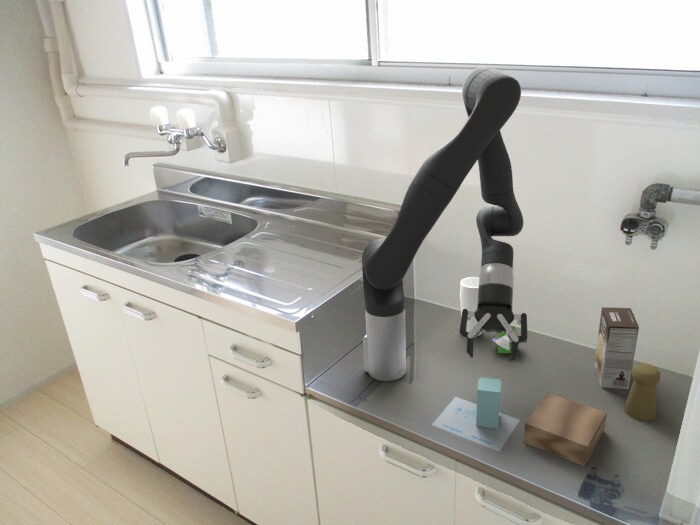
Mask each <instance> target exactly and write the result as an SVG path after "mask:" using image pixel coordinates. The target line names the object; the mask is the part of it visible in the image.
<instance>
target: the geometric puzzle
mask: <svg viewBox="0 0 700 525" xmlns="http://www.w3.org/2000/svg"><path fill="white" fill-rule="evenodd" d="M510 327H511V328H512V329H513V331H514V332H515V334H516V335H518V332H517V330H516V327H515V325H510ZM494 334H495V335H494ZM496 336H497V338H496ZM490 340H491V341H492V343H493V345H494V348H495V350H496V352H497V354H511V340H510V339H509V337H507V335H506V334H505V332H504V331H503V332H501V333H497V334H496V332H493V335H492V337H491V338H490ZM496 344H497V346H496ZM519 347H520V345H518V348H519Z"/></svg>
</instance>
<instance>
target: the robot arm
mask: <svg viewBox="0 0 700 525" xmlns="http://www.w3.org/2000/svg"><path fill="white" fill-rule="evenodd" d="M461 93H462V94H461V95H462V101H463V105H464V107H465V108H464V109H465V111H466V114H467V117H468V118H467V120H466V121H465V122H464V125H463V126H462V127H461V129H460V130H459V131H458V132H457V134H455V135H454V136H453V137H452V138H451V139H450V140H448V141H447V142H446V143H445V144H442V146H440V147H438V148H437V149H436V150H435V151H433V152H432V153H431V154H430V155H429V156H428V157H427V158H426V159H425V160H424V161H423V162H422V164H421V166H420V167H419V169H418V170H417V172H416V173H415V176H414V177H413V178H412V181H411V182H410V184H409V186H408V188H407V190H406V192H405V195H404V198H403V200H402V202H401V205H400V206H401V207H400V209H399V212H398V215H397V218H396V220H395V222H394V224H393V227H392V228H391V230H390V231H389V233H388V234H387V236H386V237H384V238H383V237H382V238H381V237H380V238H376V239H373V240H371V241H370V242H369V243H368V244H367V245H366V246H365V248H364V250H363V251H362V255H361V266H362V267H361V268H362V270H361V271H362V282H363V283H362V286H363V298H364V309H365V310H364V311H365V313H364V314H365V332H366V333H365V335H364V336H363V338H362V341H363V342H362V343H363V344H362V346H363V365H364V367H363V368H364V372H366V373H368V374H369V376H370V377H371V378H372V379H374V380H376V381H381V382H393V381H396V380H400V379H401V378H402V377H404V376H405V375H406V372H407V362H406V360H407V358H406V357H407V354H406V353H407V352H406V350H407V348H406V346H407V345H406V300H405V293H404V290H405V289H404V283H403V280H404V278H405V276H406V275H407V272H408V270H409V268H410V267H411V264H412V262H413V261H414V258H415V257H416V256H417V255H416V254H417V253H418V251H419V249H420V247H421V246H422V244H423V242H424V240H425V239H426V237H427V236H428V235H429V233H430V232H431V230H432V229H433V228H434V226H435V225H436V223H437V222H438V220H439V218H440V217H441V215H442V214H443V213H444V211H445V210H446V208H447V207H448V205H449V204H450V202H452V199H453V198H454V196H455V195H456V193H458V191H459V189H460V187H461V185H462V183H463V182H464V180H466V178H467V176H468V175H469V173H470V171H471V170H472V169H473V167H474V165H475V164H476V163H477V164H478V172H479V181H480V182H479V183H480V193H481V197H482V200H483V201H484V202H485V203H486V204H489V205H491V206H483V207H482V208H480V209H479V210H478V212H477V215H476V216H475V217H476V219H475V220H476V228H477V229H478V230H477V231H478V234H479V237H480V244H481V261H480V263H481V264H480V272H479V277H478V278H479V285H478V286H479V288H478V303H477V309H476V311H475V312H473V311H468V310H467V309H463V311H462V318H460V325H459V336H460V337H461V339H462V338H464V339H465V340H466V354H467V355H468V356H469V358H470V359H473V358H474V351H475V350H474V349H475V348H474V347H475V339H476V337H478V336H477V335H479V334H480V333H481V332H482V333H483V331H484V332H486V333H494V332H495V334H498V333H501V332H503V331H504V332H505V334H506V335H507V337H509V339H510V340H511V353H510V359H509V361H510V362H512V363H514V362H515V360H517V358H518V357H519V356H518V354H519V353H518V352H519V347H518V346H519V345H520V344H522V343H523V344H525V343H527V341H528V315H527V313H526V312H522V313H521V314H516V313H515V314H514V312H513V302H514V301H513V300H514V299H513V298H514V296H513V295H514V248H513V246H512V245H511V244H510V243H507V242H504V241H500V240H497V239H494V238H492V237H515V236H517V235H519V234H520V233H521V231H522V229H523V228H524V216H523V213H522V210H521V208H520V206H519V204H518V201H517V199H516V195H515V192H514V182H513V181H514V179H513V169H512V163H511V159H510V156H509V153H508V150H507V148H506V144H505V142H504V139H503V136H502V132H501V129H502V128H503V127H504V126H505V125H506V123H507V122H508V121H509V119H510V118H511V117H512V115H513V114H514V113H515V111H516V109H517V107H518V106H519V102H520V100H521V95H522V87H521V84H520V82H519V81H518V80H517V79H516V78H514V76H511V75H509V74H507V73H504V72H503V71H501V70H499V69H496V68H494V67H491V66H487V65H485V66H484V65H482V66H478V67H476V68H474V69H472V70H471V71H470V72H469V73H468V74H467V76H466V77H465V79H464V82H463V84H462V90H461ZM492 205H493V206H492ZM472 317H475V319H476V320H477V322H478V323H477V324H476V325H475V327H474V328H473V329H472V330H471V331H470V333H469V332H466V328H467V321H470V320H471V318H472ZM514 320H515V321H516V323H517V324H518V325H519V326H520V335H517V334H516V332H515V330H514V331H513V329H512V328H511V327H510V326H511V324H512V323H513V321H514ZM482 333H481V334H482ZM481 334H480V335H481ZM480 335H479V336H480Z"/></svg>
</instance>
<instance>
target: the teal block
mask: <svg viewBox="0 0 700 525" xmlns="http://www.w3.org/2000/svg"><path fill="white" fill-rule="evenodd" d="M501 385H502V380H501V379H499V378H487V377H479V376H478V383H477V392H476V393H477V394H476V395H477V396H476V416H475V419H476V420H475V422H476V423H475V427H482V426H483V427H484V428H490V427H491V429H499V422H500V420H499V418H500V407H501V406H500V404H501V403H500V402H501V387H502V386H501Z"/></svg>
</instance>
